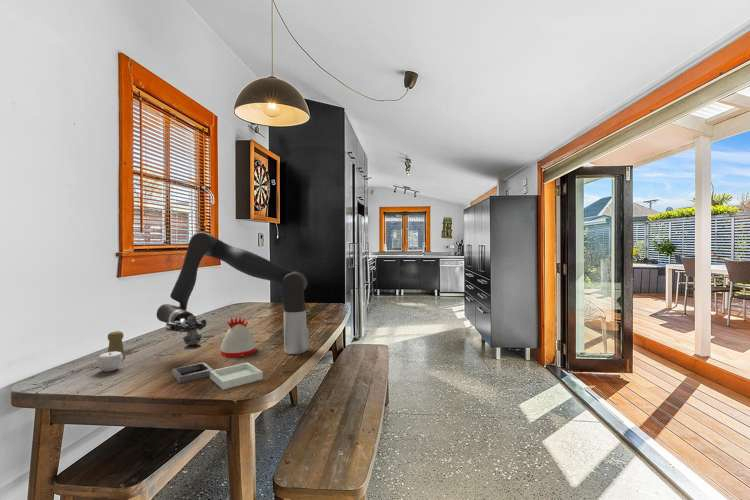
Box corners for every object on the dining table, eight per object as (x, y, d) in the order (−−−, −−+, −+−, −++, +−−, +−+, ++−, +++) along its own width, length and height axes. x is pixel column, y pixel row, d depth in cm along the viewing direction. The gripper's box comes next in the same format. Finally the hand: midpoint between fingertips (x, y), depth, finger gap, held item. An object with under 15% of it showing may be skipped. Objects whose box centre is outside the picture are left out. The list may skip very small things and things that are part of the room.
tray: (247, 369, 130) (247, 362, 130) (262, 379, 120) (262, 371, 120) (209, 378, 122) (209, 370, 122) (222, 389, 112) (222, 381, 112)
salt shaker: (194, 350, 121) (193, 314, 121) (179, 349, 123) (177, 314, 122) (205, 345, 127) (204, 311, 127) (191, 344, 128) (190, 311, 128)
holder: (204, 367, 132) (204, 362, 132) (213, 375, 125) (213, 369, 124) (172, 374, 125) (172, 368, 125) (179, 383, 118) (179, 377, 118)
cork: (128, 357, 145) (128, 330, 144) (112, 362, 139) (111, 334, 139) (119, 356, 147) (119, 329, 147) (103, 360, 142) (102, 332, 142)
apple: (121, 364, 136) (121, 347, 136) (125, 370, 131) (125, 352, 131) (95, 370, 131) (94, 352, 131) (98, 375, 125) (97, 357, 125)
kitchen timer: (220, 349, 155) (219, 315, 155) (253, 345, 161) (253, 312, 160) (221, 359, 142) (220, 321, 142) (257, 354, 148) (257, 318, 148)
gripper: (159, 313, 131) (170, 320, 118) (201, 307, 140) (215, 313, 127) (160, 333, 131) (171, 343, 118) (202, 326, 140) (216, 334, 127)
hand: (194, 327), depth 123 cm, fingers closed on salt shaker, 3 cm apart
